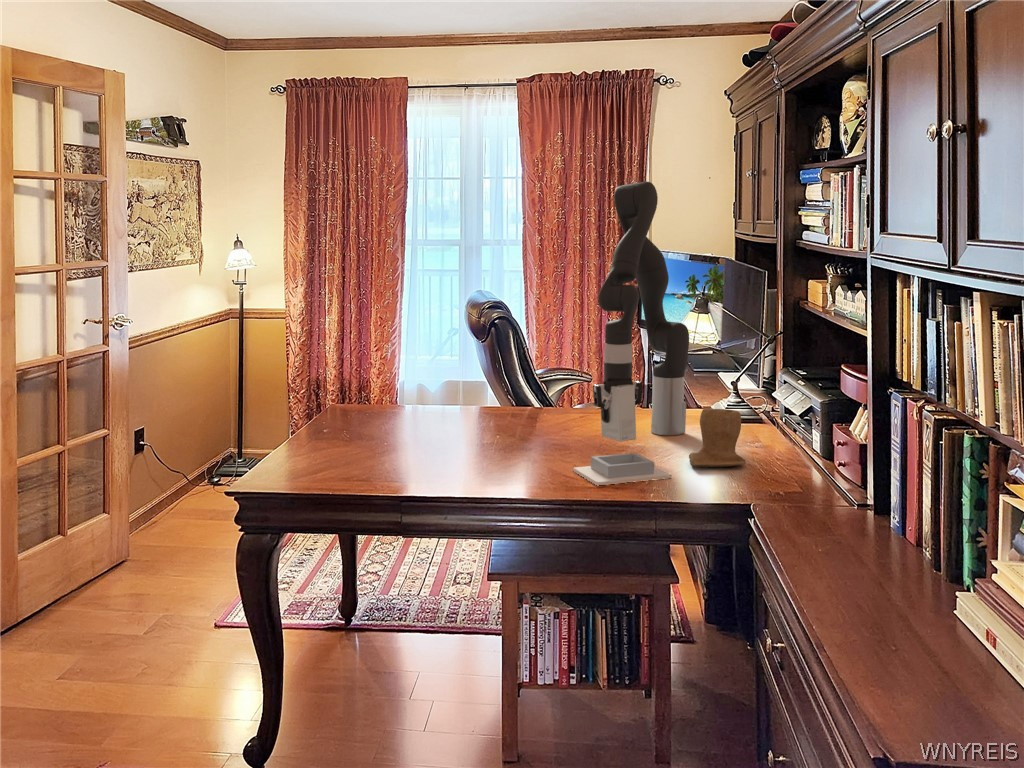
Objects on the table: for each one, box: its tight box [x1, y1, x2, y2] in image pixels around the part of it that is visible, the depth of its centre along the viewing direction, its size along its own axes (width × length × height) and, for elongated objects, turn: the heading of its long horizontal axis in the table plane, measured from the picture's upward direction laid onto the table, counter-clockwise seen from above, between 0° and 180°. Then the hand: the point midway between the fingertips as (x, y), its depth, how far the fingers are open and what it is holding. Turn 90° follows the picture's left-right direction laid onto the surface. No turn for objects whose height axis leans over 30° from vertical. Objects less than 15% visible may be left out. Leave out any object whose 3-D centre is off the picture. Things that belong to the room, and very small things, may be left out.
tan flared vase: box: [688, 407, 747, 468], centre depth 229 cm, size 15×12×15 cm
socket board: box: [572, 452, 673, 487], centre depth 220 cm, size 20×14×4 cm
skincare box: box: [600, 385, 637, 443], centre depth 240 cm, size 8×6×15 cm
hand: (617, 421), depth 240 cm, fingers closed on skincare box, 6 cm apart
